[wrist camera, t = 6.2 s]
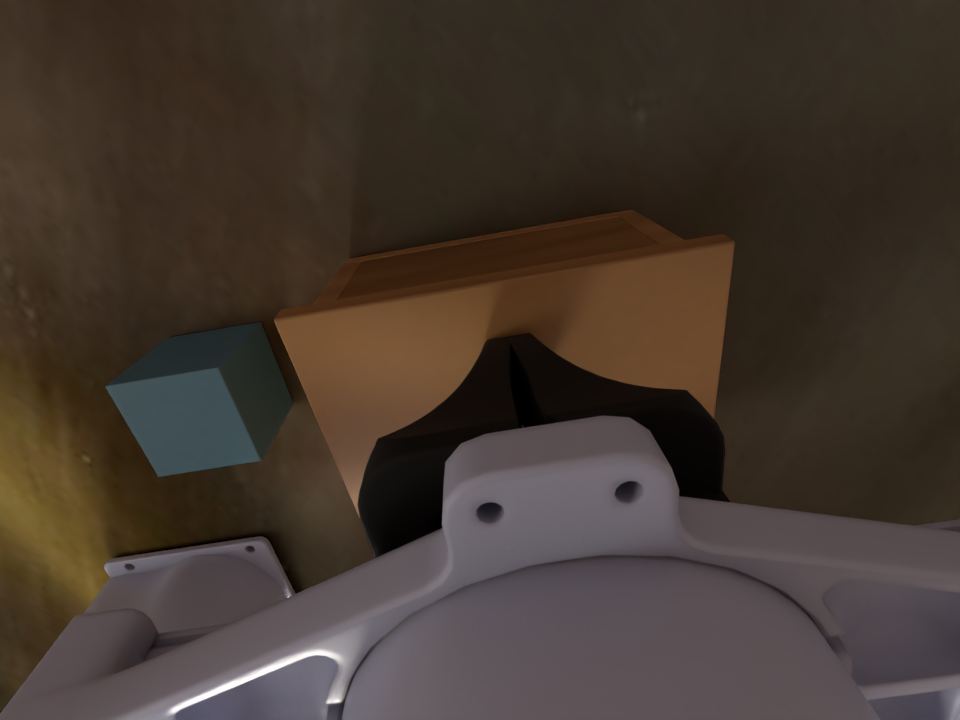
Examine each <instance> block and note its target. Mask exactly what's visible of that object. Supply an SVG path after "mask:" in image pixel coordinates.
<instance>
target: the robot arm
mask: <svg viewBox="0 0 960 720" xmlns="http://www.w3.org/2000/svg"><path fill="white" fill-rule="evenodd" d="M523 427H524V428H523ZM724 460H725V443H724V436H723V434H722V432H721V430H720V428H719V426H718V424H717V422H716V421H715V420H714V419H713V417H712V416H711V415H710V414H709V412H708V411H707V410H706V409H705V408H704V407H703V406H702V405H701V403H700V402H699V401H698V400H697V399H696V398H694V397H693V396H692V395H691V394H690V393H689V392H688V391H687V390H681V389H664V388H651V387H644V386H638V385H632V384H627V383H623V382H619V381H615V380H612V379H608V378H605V377H602V376H599V375H596V374H594V373H592V372H589V371H587V370H584V369H582V368H580V367H578V366H576V365H574V364H572V363H571V362H569V361H567V360H565V359H564V358H562V357H561V356H559V355H558V354H556V353H555V352H553V351H552V350H551V349H549V348H548V347H547V346H545V345H544V344H543V343H542V342H541V341H539V340H538V339H537V338H536V337H535V336H533V335H532V334H531V333H526V334H520V335H514V336H508V337H501V338H495V339H489V340H487V341H486V342H485V344H484V346H483V348H482V351H481V353H480V355H479V357H478V359H477V360H476V362H475V364H474V365H473V367H472V369H471V370H470V372H469V373H468V375H467V376H466V378H465V379H464V380H463V382H462V383H461V384H460V386H459V387H458V388H457V389H456V390H455V391H454V392H453V393H452V394H451V395H450V396H449V397H448V398H447V399H446V400H445V401H443V402H442V403H441V404H440V405H438V406H437V407H436V408H435V409H433V410H432V411H431V412H429V413H428V414H426V415H425V416H423V417H422V418H420V419H418V420H417V421H415V422H413V423H411V424H410V425H408V426H406V427H404V428H402V429H399V430H397V431H395V432H392V433H390V434H388V435H386V436H383V437H381V438H378V439H377V441H376V444H375V446H374V448H373V451H372V453H371V455H370V457H369V460H368V463H367V465H366V468H365V472H364V476H363V479H362V483H361V487H360V491H359V497H358V504H357V505H358V511H359V516H360V520H361V522H362V525H363V528H364V531H365V533H366V536H367V539H368V541H369V544H370V547H371V549H372V552H373V555H374V557H375V558H374V559H372V560H370V561H368V562H365V563H363V564H361V565H359V566H357V567H354V568H352V569H350V570H348V571H345V572H343V573H341V574H339V575H337V576H334V577H332V578H330V579H328V580H326V581H323V582H321V583H319V584H317V585H314V586H312V587H310V588H308V589H306V590H303V591H301V592H299V593H297V594H295V592H294V590H293V588H292V586H291V584H290V582H289V580H288V578H287V576H286V574H285V572H284V570H283V568H282V566H281V564H280V562H279V560H278V558H277V556H276V554H275V552H274V550H273V548H272V546H271V544H270V542H269V540H268V539H266V538H265V537H262V536H258V537H251V538H245V539H238V540H231V541H225V542H218V543H211V544H205V545H198V546H192V547H185V548H178V549H172V550H165V551H158V552H152V553H145V554H139V555H132V556H125V557H119V558H112V559H109V560H108V561H107V563H106V564H105V565H104V569H105V571H106V573H107V574H108V575H109V577H110V579H109V580H108V582H107V583H106V584H105V586H104V587H103V588H102V590H101V591H100V592H99V594H98V595H97V596H96V598H95V599H94V600H93V602H92V603H91V604H90V606H89V607H88V608H87V610H86V611H85V612H84V614H83V615H78V616H75V617H74V618H73V619H72V620H71V622H70V623H69V624H68V626H67V627H66V628H65V629H64V631H63V632H62V633H61V635H60V636H59V637H58V639H57V640H56V641H55V643H54V644H53V645H52V647H51V648H50V649H49V650H48V652H47V653H46V654H45V656H44V657H43V658H42V660H41V661H40V662H39V664H38V665H37V666H36V668H35V669H34V670H33V671H32V673H31V674H30V675H29V677H28V678H27V679H26V681H25V682H24V683H23V685H22V686H21V687H20V689H19V690H18V691H17V693H16V694H15V695H14V696H13V698H12V699H11V700H10V702H9V703H8V704H7V706H6V707H5V708H4V710H3V711H2V712H1V714H0V720H960V519H958V520H951V521H944V522H937V523H930V524H923V525H916V526H912V525H904V524H896V523H888V522H880V521H872V520H864V519H857V518H849V517H841V516H833V515H825V514H817V513H809V512H801V511H794V510H786V509H778V508H770V507H762V506H754V505H746V504H738V503H730V501H729V499H728V498H727V496H726V495H725V493H724V492H723V491H722V486H723V473H724ZM251 546H252V547H251Z"/></svg>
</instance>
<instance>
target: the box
mask: <svg viewBox="0 0 960 720" xmlns="http://www.w3.org/2000/svg"><path fill="white" fill-rule="evenodd" d="M683 240H684V239H682V238H680V237H678V236H677V235H675V234H673V233H672V232H670V231H668V230H666V229H665V228H663V227H661V226H660V225H658V224H656V223H655V222H653V221H651V220H649V219H648V218H646V217H644V216H643V215H641V214H639V213H637V212H635V211H634V210H631V209H630V210H625V211H619V212H613V213H607V214H602V215H596V216H590V217H584V218H579V219H573V220H567V221H562V222H556V223H550V224H544V225H539V226H533V227H527V228H522V229H516V230H510V231H504V232H499V233H493V234H487V235H482V236H476V237H470V238H464V239H459V240H453V241H447V242H441V243H436V244H430V245H424V246H419V247H413V248H407V249H401V250H396V251H390V252H384V253H379V254H373V255H367V256H361V257H356V258H350V259H347V260H346V262H345V263H344V264H343V266H342V267H341V268H340V270H339V271H338V272H337V274H336V275H335V276H334V278H333V279H332V280H331V281H330V283H329V284H328V285H327V287H326V288H325V289H324V291H323V292H322V293H321V295H320V296H319V297H318V299H317V300H316V301H315V303H321V302H327V301H333V300H338V299H344V298H350V297H356V296H362V295H368V294H374V293H379V292H385V291H391V290H397V289H403V288H409V287H414V286H420V285H426V284H432V283H438V282H444V281H449V280H455V279H461V278H467V277H473V276H479V275H484V274H490V273H496V272H502V271H508V270H514V269H519V268H525V267H531V266H537V265H543V264H549V263H554V262H560V261H566V260H572V259H578V258H584V257H589V256H595V255H601V254H607V253H613V252H619V251H624V250H630V249H636V248H642V247H648V246H654V245H660V244H665V243H671V242H677V241H683ZM315 303H314V304H315Z"/></svg>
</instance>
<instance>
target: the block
mask: <svg viewBox="0 0 960 720" xmlns="http://www.w3.org/2000/svg"><path fill="white" fill-rule="evenodd" d="M105 387H106V389H107V391H108V392H109V394H110V396H111V397H112V399H113V401H114V402H115V404H116V406H117V407H118V409H119V411H120V412H121V414H122V416H123V418H124V419H125V421H126V423H127V424H128V426H129V428H130V429H131V431H132V433H133V434H134V436H135V438H136V439H137V441H138V443H139V445H140V446H141V448H142V450H143V451H144V453H145V455H146V456H147V458H148V460H149V461H150V463H151V465H152V466H153V468H154V470H155V471H156V473H157V475H158V476H159V477H161V476H168V475H174V474H180V473H187V472H193V471H199V470H205V469H212V468H218V467H224V466H231V465H237V464H243V463H250V462H256V461H261V460H262V458H263V457H264V455H265V453H266V451H267V450H268V448H269V446H270V444H271V443H272V441H273V439H274V437H275V436H276V434H277V432H278V430H279V428H280V427H281V425H282V423H283V421H284V420H285V418H286V416H287V414H288V413H289V411H290V409H291V407H292V406H293V401H292V399H291V396H290V394H289V391H288V389H287V386H286V384H285V381H284V379H283V376H282V374H281V371H280V369H279V366H278V364H277V361H276V359H275V356H274V354H273V351H272V349H271V346H270V344H269V341H268V339H267V336H266V334H265V331H264V329H263V326H262V324H261V322H258V323H252V324H246V325H240V326H234V327H228V328H222V329H216V330H211V331H205V332H199V333H193V334H187V335H181V336H175V337H170V338H166V339H165V340H164V341H163V342H161V343H160V344H159V345H158V346H156V347H155V348H154V349H152V350H151V351H150V352H149V353H147V354H146V355H145V356H143V357H142V358H141V359H140V360H138V361H137V362H136V363H134V364H133V365H132V366H131V367H129V368H128V369H127V370H125V371H124V372H123V373H122V374H120V375H119V376H118V377H116V378H115V379H114V380H113V381H111V382H110V383H109V384H107V385H106V386H105Z"/></svg>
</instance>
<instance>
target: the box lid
mask: <svg viewBox="0 0 960 720" xmlns="http://www.w3.org/2000/svg"><path fill="white" fill-rule="evenodd" d="M734 247H735V242H734V241H733V240H732V239H730V238H729V237H728V236H726V235H725V234H718V235H712V236H706V237H700V238H695V239H689V240H683V241H677V242H671V243H665V244H660V245H654V246H648V247H642V248H636V249H630V250H624V251H619V252H613V253H607V254H601V255H595V256H589V257H584V258H578V259H572V260H566V261H560V262H554V263H549V264H543V265H537V266H531V267H525V268H519V269H514V270H508V271H502V272H496V273H490V274H484V275H479V276H473V277H467V278H461V279H455V280H449V281H444V282H438V283H432V284H426V285H420V286H414V287H409V288H403V289H397V290H391V291H385V292H379V293H374V294H368V295H362V296H356V297H350V298H344V299H338V300H333V301H327V302H321V303H315V304H309V305H303V306H298V307H292V308H286V309H282V310H280V311H279V313H278V315H277V316H276V318H275V319H274V322H275V325H276V327H277V329H278V331H279V334H280V336H281V338H282V341H283V343H284V345H285V347H286V350H287V352H288V354H289V357H290V359H291V361H292V364H293V366H294V368H295V370H296V373H297V375H298V377H299V380H300V382H301V384H302V387H303V389H304V391H305V393H306V396H307V398H308V400H309V403H310V405H311V407H312V409H313V412H314V414H315V416H316V419H317V421H318V423H319V426H320V428H321V430H322V432H323V435H324V437H325V439H326V442H327V444H328V446H329V449H330V451H331V453H332V455H333V458H334V460H335V462H336V465H337V467H338V469H339V471H340V474H341V476H342V478H343V481H344V483H345V485H346V488H347V490H348V492H349V494H350V497H351V499H352V501H353V504H354V506H355V508H356V511H357V513H358V515H359V511H358V505H357V504H358V497H359V491H360V487H361V483H362V479H363V476H364V472H365V468H366V465H367V463H368V460H369V457H370V455H371V453H372V451H373V448H374V446H375V444H376V441H377V439H378V438H381V437H383V436H386V435H388V434H390V433H392V432H395V431H397V430H399V429H402V428H404V427H406V426H408V425H410V424H411V423H413V422H415V421H417V420H418V419H420V418H422V417H423V416H425V415H426V414H428V413H429V412H431V411H432V410H433V409H435V408H436V407H437V406H438V405H440V404H441V403H442V402H443V401H445V400H446V399H447V398H448V397H449V396H450V395H451V394H452V393H453V392H454V391H455V390H456V389H457V388H458V387H459V386H460V384H461V383H462V382H463V380H464V379H465V378H466V376H467V375H468V373H469V372H470V370H471V369H472V367H473V365H474V364H475V362H476V360H477V359H478V357H479V355H480V353H481V351H482V348H483V346H484V344H485V342H486V341H487V340H489V339H495V338H501V337H508V336H514V335H520V334H526V333H531V334H532V335H533V336H535V337H536V338H537V339H538V340H539V341H541V342H542V343H543V344H544V345H545V346H547V347H548V348H549V349H551V350H552V351H553V352H555V353H556V354H558V355H559V356H561V357H562V358H564V359H565V360H567V361H569V362H571V363H572V364H574V365H576V366H578V367H580V368H582V369H584V370H587V371H589V372H592V373H594V374H596V375H599V376H602V377H605V378H608V379H612V380H615V381H619V382H623V383H627V384H632V385H638V386H644V387H651V388H664V389H681V390H687V391H688V392H689V393H690V394H691V395H692V396H693V397H694V398H696V399H697V400H698V401H699V402H700V403H701V405H702V406H703V407H704V408H705V409H706V410H707V411H708V412H709V414H710V415H711V416H712V417H713V419H714V415H715V407H716V399H717V390H718V382H719V373H720V365H721V357H722V348H723V340H724V331H725V323H726V315H727V306H728V298H729V289H730V281H731V273H732V264H733V256H734ZM523 428H524V427H523ZM359 517H360V516H359Z"/></svg>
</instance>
